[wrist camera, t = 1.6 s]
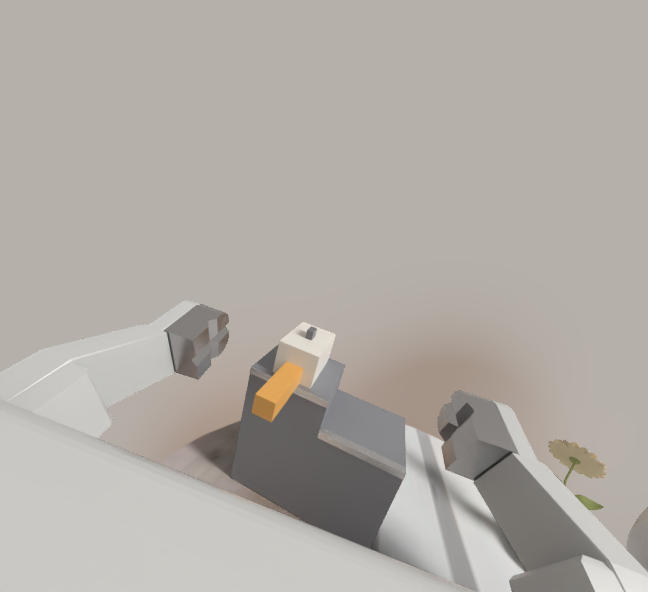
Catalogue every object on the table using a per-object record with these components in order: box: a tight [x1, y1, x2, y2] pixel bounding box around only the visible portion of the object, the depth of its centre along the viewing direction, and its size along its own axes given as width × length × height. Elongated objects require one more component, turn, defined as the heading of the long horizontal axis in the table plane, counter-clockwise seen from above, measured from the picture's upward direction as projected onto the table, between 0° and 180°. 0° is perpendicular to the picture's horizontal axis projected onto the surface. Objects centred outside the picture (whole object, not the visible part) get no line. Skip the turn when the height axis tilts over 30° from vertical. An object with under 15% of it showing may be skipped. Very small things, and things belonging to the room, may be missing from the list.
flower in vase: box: [548, 440, 606, 510], centre depth 46 cm, size 13×11×25 cm
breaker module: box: [251, 322, 336, 422], centre depth 39 cm, size 19×7×8 cm, turn 162°
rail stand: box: [230, 344, 406, 549], centre depth 46 cm, size 12×28×26 cm, turn 72°
